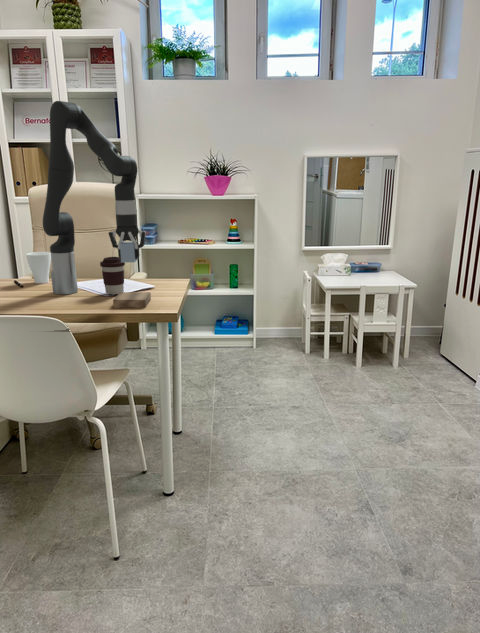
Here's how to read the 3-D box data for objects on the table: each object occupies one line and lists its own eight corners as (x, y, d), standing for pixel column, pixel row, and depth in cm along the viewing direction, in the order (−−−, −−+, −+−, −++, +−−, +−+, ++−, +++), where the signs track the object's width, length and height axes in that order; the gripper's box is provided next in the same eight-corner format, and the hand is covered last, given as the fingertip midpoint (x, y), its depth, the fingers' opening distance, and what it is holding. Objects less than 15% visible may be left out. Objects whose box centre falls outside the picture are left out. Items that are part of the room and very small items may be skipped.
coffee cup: (105, 297, 196) (102, 260, 192) (100, 292, 204) (97, 257, 200) (129, 294, 200) (127, 258, 196) (123, 289, 209) (121, 255, 205)
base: (113, 307, 180) (113, 299, 180) (120, 299, 192) (120, 292, 191) (145, 307, 181) (145, 299, 180) (150, 299, 192) (150, 292, 191)
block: (121, 262, 179) (119, 243, 177) (124, 260, 184) (122, 241, 182) (134, 262, 179) (133, 243, 177) (137, 260, 184) (136, 241, 182)
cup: (45, 279, 230) (42, 251, 226) (58, 281, 224) (55, 253, 220) (25, 282, 222) (21, 253, 218) (38, 285, 216) (34, 256, 212)
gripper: (103, 213, 173) (107, 260, 177) (143, 213, 173) (146, 260, 177) (109, 212, 180) (112, 257, 185) (147, 212, 180) (150, 257, 185)
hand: (129, 258), depth 181 cm, fingers closed on block, 5 cm apart
